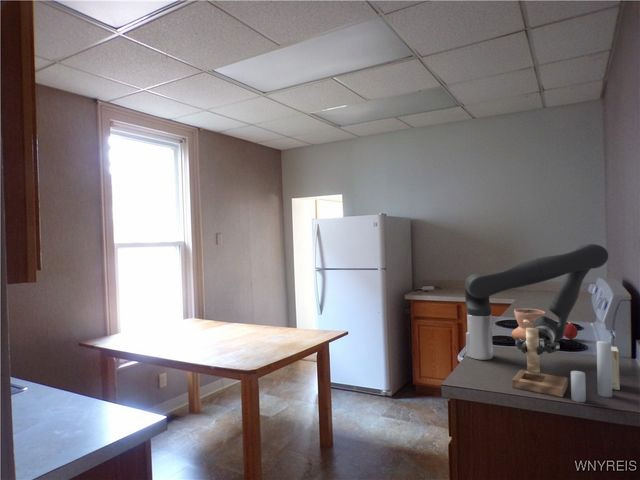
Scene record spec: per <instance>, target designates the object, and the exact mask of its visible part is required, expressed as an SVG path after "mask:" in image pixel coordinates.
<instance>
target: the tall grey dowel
mask: <svg viewBox="0 0 640 480" xmlns="http://www.w3.org/2000/svg"><path fill="white" fill-rule="evenodd" d="M611 346H612V342H611V341H606V340H597V341H596V368H597V369H596V371H597V373H596V376H597V395H598V396H601V397H603V398H612V397H613V389H612V360H611Z"/></svg>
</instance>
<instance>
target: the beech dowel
mask: <svg viewBox="0 0 640 480" xmlns="http://www.w3.org/2000/svg"><path fill="white" fill-rule="evenodd" d="M526 345H527V352H526V365H527V366H526V369H527V370H526V371H528V372H529V373H534V374H538V373H541V363H540V355H537V348H538V347H539V335H538V329H537V328H526Z"/></svg>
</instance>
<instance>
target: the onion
mask: <svg viewBox="0 0 640 480" xmlns="http://www.w3.org/2000/svg"><path fill="white" fill-rule="evenodd" d="M578 333H579V332H578V328H577V327H576V326H575V325H574V324H573V323H572V322H569V321H567V323H566V328H565V333H564V336H563V337H565V338H567V339H568V340H570V341H572V340H573V339H575V338H576V337H577V336H578Z"/></svg>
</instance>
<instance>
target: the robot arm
mask: <svg viewBox="0 0 640 480" xmlns="http://www.w3.org/2000/svg"><path fill="white" fill-rule="evenodd" d="M608 259H609V252H608V250H607V249H606V248H605V247H604V246H602V245H600V244H595V243H589V244H583V245H579V246H578V247H577V248H576V249H575V250H572V251H570V252H566V253H563V254H562V253H561V254H555V255H548V256H541V257H537V258H533V259H529V260H526V261H522V262H519V263H517V264H515V265H513V266H510V267H509V268H507V269H504V270H503V271H499V272H495V273H490V274H489V273H488V274H481V273H472V274H469V276H468V277H467V278H466V279H465V283H464V292H465V294H464V297H465V308H466V320H467V321H466V323H467V332H465V349H466V357H469V358H471V359H476V360H481V361H483V360H485V361H487V360H491V359H492V358H494V355H493V354H494V350H493V316H492V314H493V313H492V306H491V302H490V297H491V296H494V295H496V294H498V293H501V292H504V291H505V292H506V291H508V290H513V289H517V288H523V287H527V286H531V285H534V284H535V285H536V284H539V283H543V282H547V281H550V280H552V279H553V280H554V279H556V278H559V277H561V276H564V275H565V277H564V279H563V280H562V283H561V285H560V287H559V288H558V290H557V292H556V294H555V296H554V297H553V299H552V301H551V303H550V304H549V307H548V310H549V311H550V312H551V313H553V314H554V316H556V317H557V318H558V321H556V320H555V319H552V318H550V317H548V316H546V315H545V316H540V317H538V318H537V319H536V321H535V323H534V328H537V329H538V335H539V347H538V348H537V355H539V356H541V355H543V354H545V353H547V354H552V353H555V352H558V351H560V342H559V341H560V340H562V339H563V337H565V336H564V333H565V328H566V325H567V323H568V319H569V317H570V314H571V312H572V310H573V309H574V307H575V306H576V303H577V301H578V298H579V295H580V291H581V287H582V284H583V281H584V279H585V278H586V276H587V275H588V273H589V272H590V270H592V269H598V268H601V267H602V266H604V265H605V264H607V262H608ZM515 346H516V348H517V349H518V350H520V351H521V353H522V354H527V345H526V338H525V339H524V340H521V339H520V338H518V337H517V338H516V340H515Z"/></svg>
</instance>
